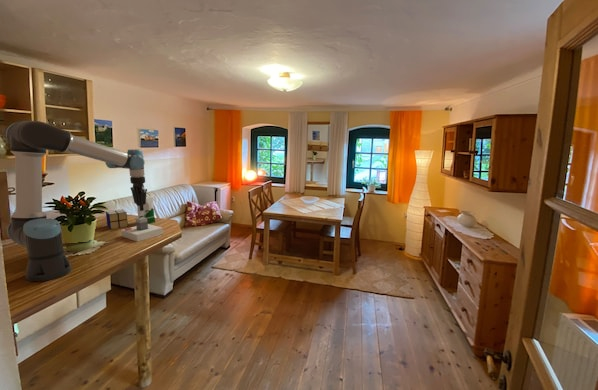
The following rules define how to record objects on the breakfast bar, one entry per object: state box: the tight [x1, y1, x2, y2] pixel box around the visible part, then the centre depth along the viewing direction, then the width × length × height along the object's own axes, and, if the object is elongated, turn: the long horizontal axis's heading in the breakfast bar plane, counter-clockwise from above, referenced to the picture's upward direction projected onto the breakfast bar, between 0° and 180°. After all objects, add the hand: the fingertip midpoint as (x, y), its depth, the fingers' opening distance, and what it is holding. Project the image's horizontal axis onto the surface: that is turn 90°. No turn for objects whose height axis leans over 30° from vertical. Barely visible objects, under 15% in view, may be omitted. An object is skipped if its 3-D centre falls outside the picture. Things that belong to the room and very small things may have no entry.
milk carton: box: [138, 195, 156, 225], centre depth 205 cm, size 9×9×20 cm
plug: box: [135, 217, 148, 231], centre depth 180 cm, size 4×4×10 cm
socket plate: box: [120, 223, 164, 243], centre depth 180 cm, size 16×16×5 cm
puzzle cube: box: [105, 208, 129, 230], centre depth 196 cm, size 10×10×10 cm
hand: (141, 215), depth 179 cm, fingers closed
